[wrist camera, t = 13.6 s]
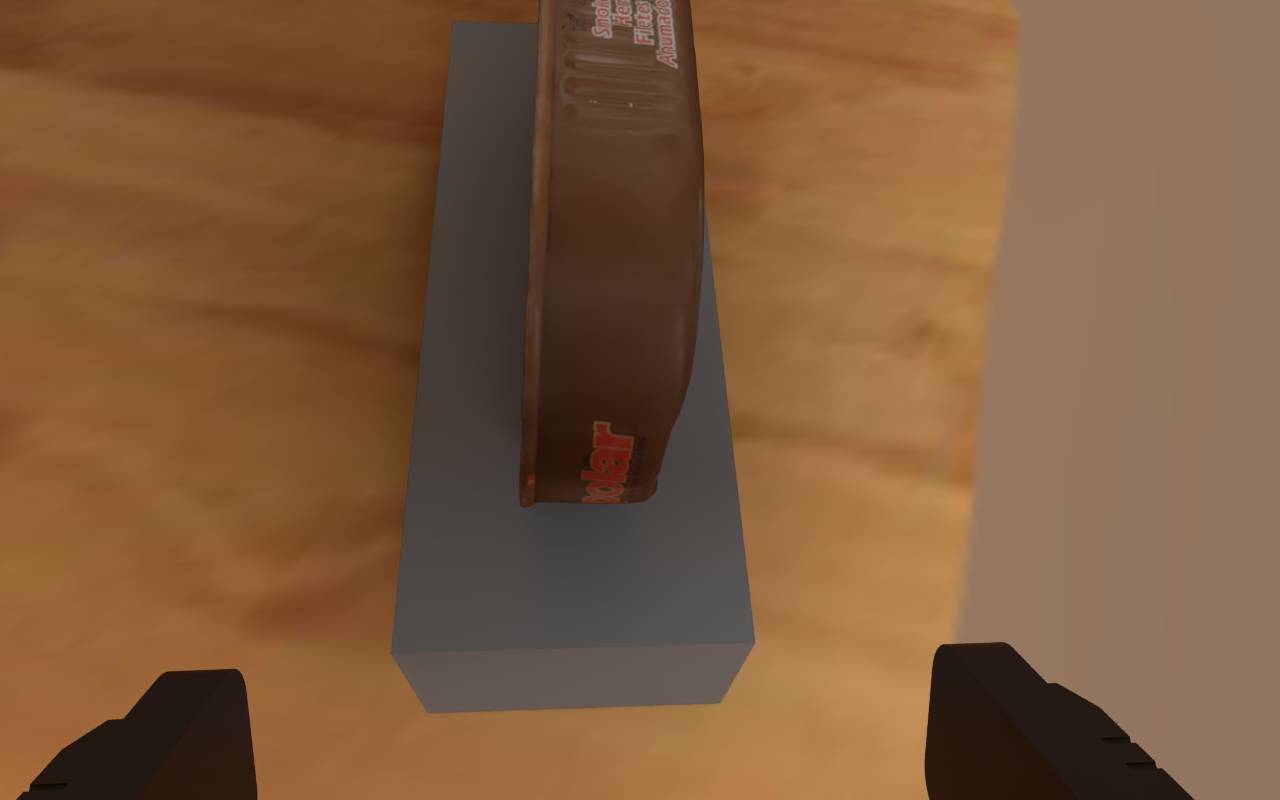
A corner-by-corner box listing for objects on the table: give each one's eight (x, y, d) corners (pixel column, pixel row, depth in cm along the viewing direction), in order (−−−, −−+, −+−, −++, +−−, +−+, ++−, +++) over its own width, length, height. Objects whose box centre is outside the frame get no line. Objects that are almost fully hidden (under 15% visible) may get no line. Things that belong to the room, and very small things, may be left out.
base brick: (427, 713, 21) (390, 653, 17) (470, 148, 31) (453, 21, 27) (720, 703, 22) (754, 642, 18) (670, 151, 32) (684, 27, 27)
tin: (536, 78, 26) (521, -257, 19) (645, 81, 26) (671, -249, 19) (514, 577, 18) (472, 330, 11) (671, 576, 18) (732, 332, 11)
